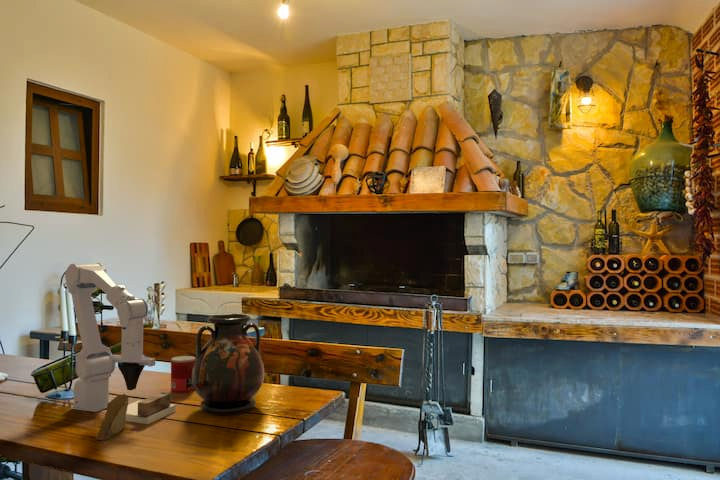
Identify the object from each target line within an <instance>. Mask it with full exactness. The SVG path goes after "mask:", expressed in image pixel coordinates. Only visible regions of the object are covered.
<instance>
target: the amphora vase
mask: <svg viewBox="0 0 720 480" xmlns="http://www.w3.org/2000/svg"><path fill="white" fill-rule="evenodd" d="M206 320H207V322H208V323H210V324H212V325H213V328H212V327H211V326H210V325H209V326H208V325H203V326H202V327H200V328H199V330H198V332H197V335H196V341H195V343H196V345H195V350H196V351H195V363H194V365H193V370H192V385H193V388H194V391H195V393H196V394H197V396H199V398H201V399H202V401H201V402H200V404H199V407H200V409H201V410H202V411H203V412H204V413H207V414H209V415H213V416H233V415H240V414H243V413H247V412H249V411H251V410H252V409H254V407H255V405H256V404H257V402H256V399H255V396H256V395H257V394H258V392H259V391H260V389H261V387H262V386H263V385H264V384H263V383H264V380H265V366H264V361H263V360H262V356H261V334H260V332H261V331H260V328H259V327H258V325H257V324H256V323H248V322H250V321H251V320H252V319H251V317H250V315H247V314H243V313H242V314H241V313H224V314H223V313H221V314H214V315H210V316H208V317H207V319H206ZM246 323H248V324H247V325H245V324H246ZM251 328H252V329H254V333H255V341H254V342H255V344H254V343H253V342H252V341H251V340H250V339H249V338H248V336H247V335H248V334H247V333H248V330H249V329H251ZM204 331H209V332H210V339H209V340H208V341H207V342H206V343H205V344H204V346H203V347H202V346H201V345H202V343H201V342H202V341H201V340H202V335H203V332H204Z"/></svg>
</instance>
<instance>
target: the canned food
mask: <svg viewBox="0 0 720 480" xmlns="http://www.w3.org/2000/svg"><path fill="white" fill-rule="evenodd" d="M195 361H196V356H192V355H191V356H190V355H178V356H174V357H171V360H170V391H171V392H172V393H173V394H187V393H192V392H194V391H195V390H194V388H193V385H192V370H193V365H194V363H195Z"/></svg>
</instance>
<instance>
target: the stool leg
mask: <svg viewBox="0 0 720 480" xmlns="http://www.w3.org/2000/svg"><path fill="white" fill-rule="evenodd" d="M171 392H172V391H171ZM171 392H170V391H162V392H160V393H157V394H155V395H152V396H150V397H147V398H145V399H143V400H141V401H140V402H138V415H140V416H148V415H151V414H153V413H155V412H157V411H159V410H161V409H163V408H165V407H167V406H169V405H171V404H172V403H171V397H172V395H171V394H172V393H171Z"/></svg>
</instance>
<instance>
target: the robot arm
mask: <svg viewBox="0 0 720 480" xmlns="http://www.w3.org/2000/svg"><path fill="white" fill-rule="evenodd" d="M64 278H65V284H66V287H67V291H68V293H69V294H70V295H71V298H72V304H73V308H74V312H75V313H74V314H75V318H76V322H77V328H78V330H79V331H78V332H79V336H80V341H81V347H82V349H81V350H80V351H78V353H77V354H76V356H75V373H76V375H77V377H78V379H77V380H76V381H75V383H74V384H73V406H71V410H78V411H86V412H92V413H96V412H100V411H103V410H105V409H107V404H108V403H109V399H110V398H109V395H110V394H109V393H110V392H109V391H110V390H109V387H110V384H109V383H110V380H109V379H110V377H112V374H113V373H114V372H115V369H116V365H117V363H118V364H121V365H119V366H118V370H119V371H120V373H121V375H122V377H123V379H124V382H125V383H124V384H125V386H126V390H127V391H133V390H136V389H137V386H138V381H139V379H140V376H141V374H142V372H143V370H144V369H145V367H146V366H147V367H148V368H149V367H151V368H152V367H154V366H156V358H154V357H149V356H146V355H145V354H144V319H146V317H147V316H148V312H149V306H148V303H147V301H145V299H144V298H138V297H135V296H134V295H133V294H132V293H131V292H129V290H128V289H126V287H125V285H120V284H118V285H117V284H115V282H114V281H113V280H112V279H111V277H110V276H108V274H107V268H106V266H104V264H103V263H101V262H96V263H70V264H69V265H68V266H67V268H66V271H65V274H64ZM98 289H100V290H102V292H104V293H105V298H106V300H107V301H108V302H109V303H110V305H112V306H113V308H115V309H116V313H117V317H118V319H119V326H120V327H121V347H120V350H121V351H120V354H113V353H112V351H111V348H110V347H108V346H106V345H105V344H103V343H102V340H101V335H100V330H99V326H98V322H97V321H98V320H97V317H96V312H95V308H94V304H93V299H92V295H93V293H94V292H96V291H97V290H98Z"/></svg>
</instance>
